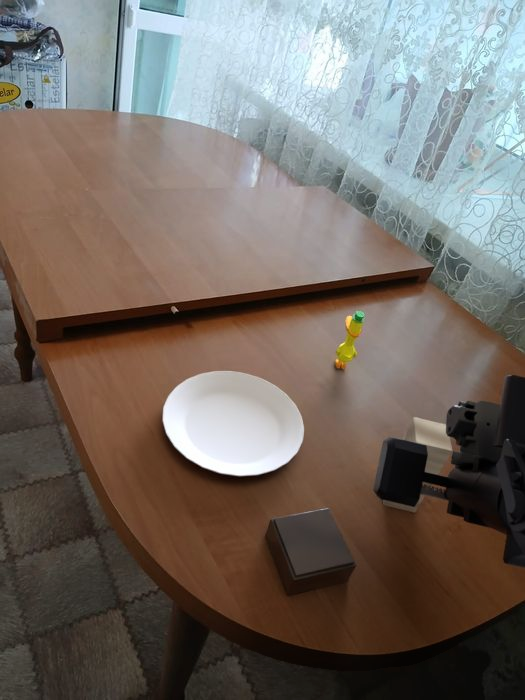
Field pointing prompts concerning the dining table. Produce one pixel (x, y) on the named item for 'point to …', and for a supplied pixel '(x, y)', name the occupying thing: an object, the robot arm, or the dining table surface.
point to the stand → (309, 551)
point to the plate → (233, 423)
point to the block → (436, 449)
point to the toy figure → (350, 339)
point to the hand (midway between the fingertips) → (440, 478)
